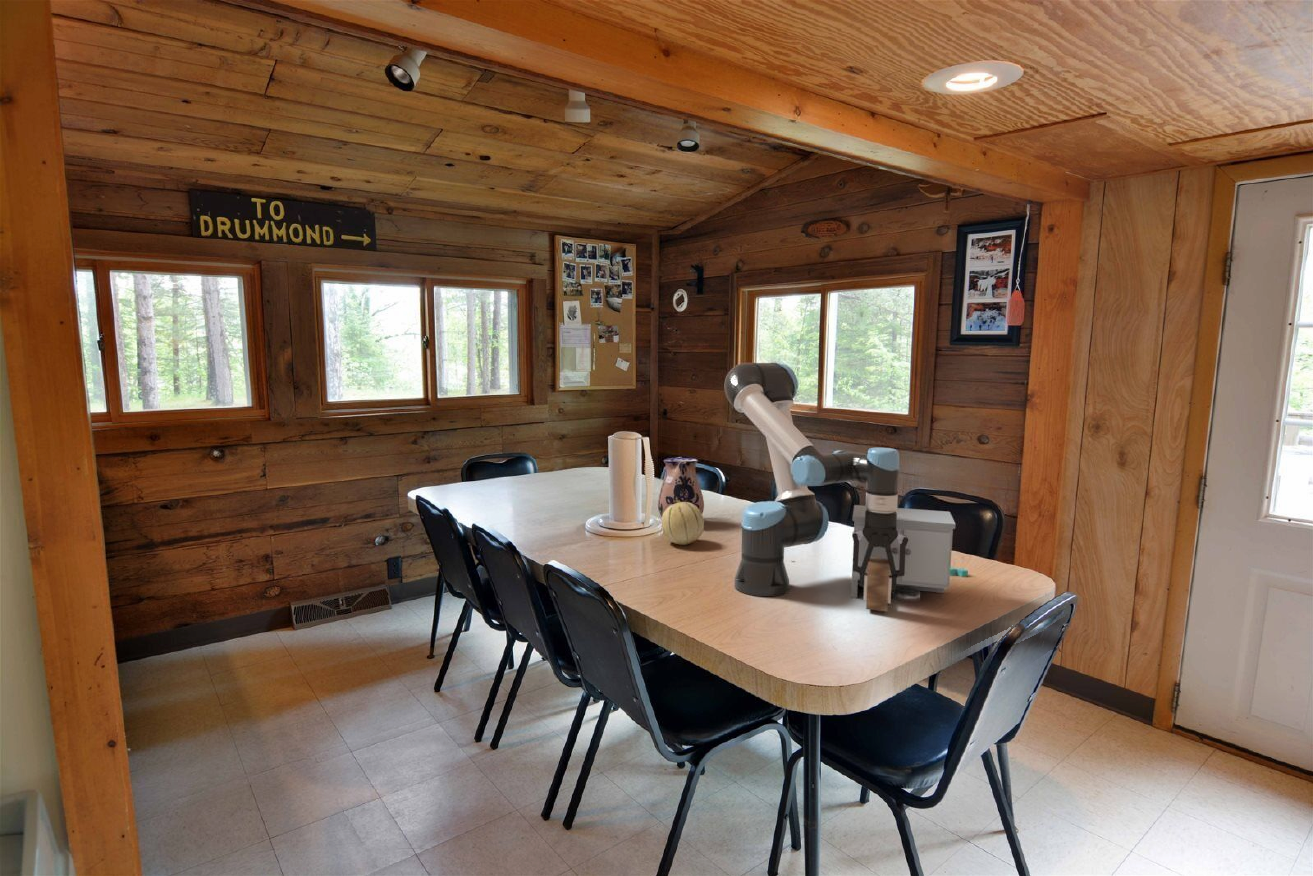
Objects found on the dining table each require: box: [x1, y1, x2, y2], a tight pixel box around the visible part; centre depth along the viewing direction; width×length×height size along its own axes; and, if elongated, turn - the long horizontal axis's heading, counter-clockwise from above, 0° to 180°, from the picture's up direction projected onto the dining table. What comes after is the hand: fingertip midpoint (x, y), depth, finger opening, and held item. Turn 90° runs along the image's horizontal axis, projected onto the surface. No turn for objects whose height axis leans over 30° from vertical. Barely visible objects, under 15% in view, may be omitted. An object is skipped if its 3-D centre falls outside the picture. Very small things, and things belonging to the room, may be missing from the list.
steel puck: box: [891, 587, 921, 603], centre depth 183 cm, size 7×7×2 cm
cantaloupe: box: [660, 500, 705, 546], centre depth 234 cm, size 15×15×15 cm
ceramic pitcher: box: [657, 456, 705, 518], centre depth 262 cm, size 18×21×25 cm
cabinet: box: [850, 504, 956, 599], centre depth 184 cm, size 25×16×22 cm, turn 72°
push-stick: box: [865, 557, 889, 612], centre depth 180 cm, size 5×20×12 cm, turn 162°
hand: (876, 600), depth 173 cm, fingers closed on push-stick, 5 cm apart
